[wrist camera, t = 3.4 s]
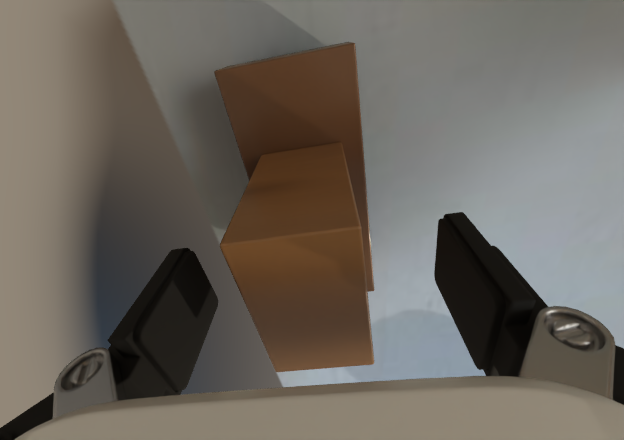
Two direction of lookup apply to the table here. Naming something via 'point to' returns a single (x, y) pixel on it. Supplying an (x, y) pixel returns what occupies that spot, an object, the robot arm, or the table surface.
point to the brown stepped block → (302, 207)
